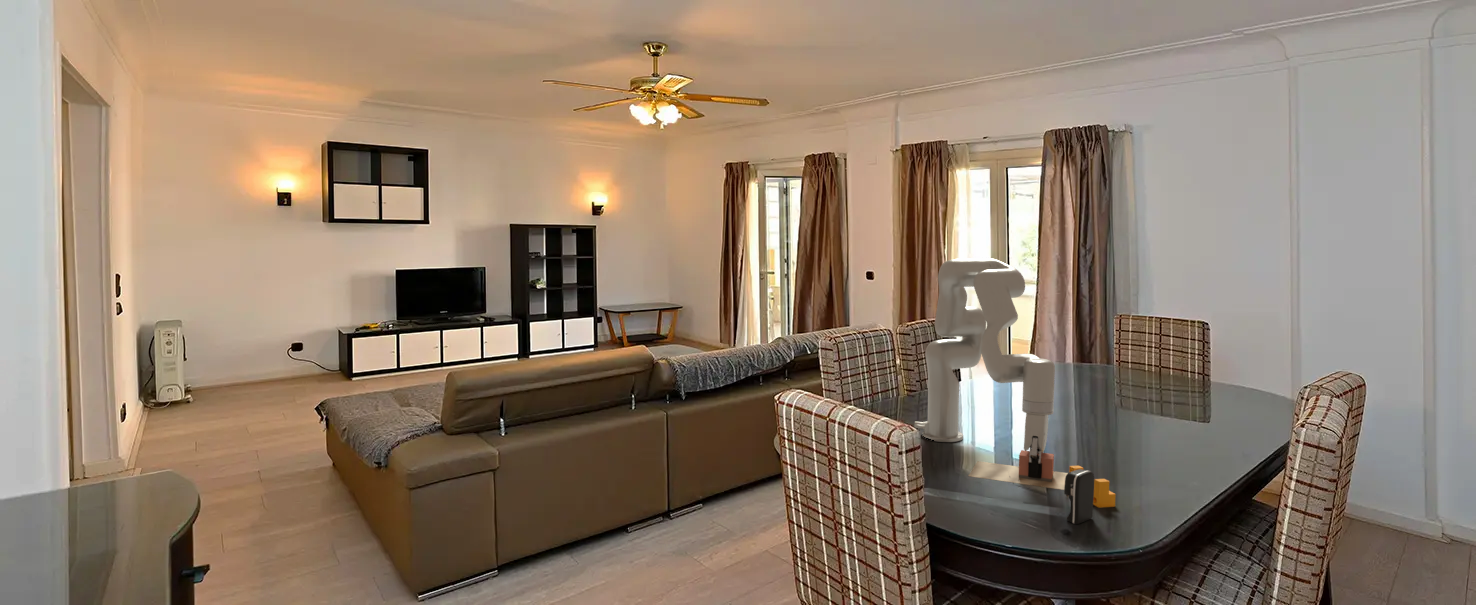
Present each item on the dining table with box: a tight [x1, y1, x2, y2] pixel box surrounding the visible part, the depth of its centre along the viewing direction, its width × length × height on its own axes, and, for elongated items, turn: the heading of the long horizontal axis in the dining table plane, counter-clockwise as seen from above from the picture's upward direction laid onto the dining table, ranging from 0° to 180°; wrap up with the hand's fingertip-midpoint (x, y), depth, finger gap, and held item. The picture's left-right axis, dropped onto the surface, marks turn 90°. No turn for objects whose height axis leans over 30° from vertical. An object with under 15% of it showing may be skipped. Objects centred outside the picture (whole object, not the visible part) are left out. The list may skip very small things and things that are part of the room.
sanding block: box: [1018, 449, 1055, 482], centre depth 191 cm, size 8×5×6 cm, turn 63°
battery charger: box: [1063, 469, 1095, 525], centre depth 166 cm, size 7×4×11 cm, turn 124°
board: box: [967, 460, 1069, 497], centre depth 193 cm, size 24×14×2 cm, turn 62°
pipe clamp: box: [1068, 465, 1117, 509], centre depth 180 cm, size 12×4×6 cm, turn 9°
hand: (1035, 473), depth 191 cm, fingers closed on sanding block, 5 cm apart
